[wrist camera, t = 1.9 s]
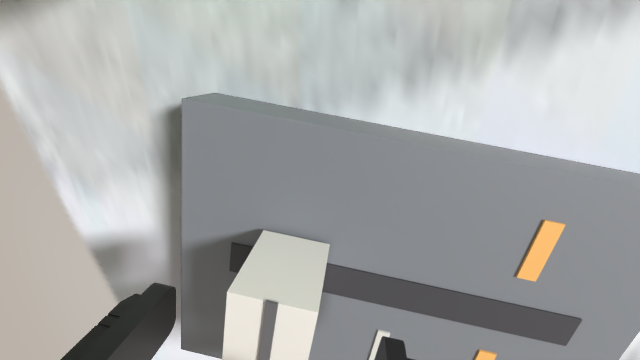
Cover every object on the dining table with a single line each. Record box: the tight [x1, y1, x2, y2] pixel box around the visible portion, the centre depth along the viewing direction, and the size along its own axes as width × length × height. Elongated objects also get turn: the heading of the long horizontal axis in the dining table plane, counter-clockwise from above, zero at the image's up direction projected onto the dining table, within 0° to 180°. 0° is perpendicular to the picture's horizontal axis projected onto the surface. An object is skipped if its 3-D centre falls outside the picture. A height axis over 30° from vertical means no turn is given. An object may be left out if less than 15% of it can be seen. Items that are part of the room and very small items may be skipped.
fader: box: [222, 230, 330, 360], centre depth 12 cm, size 4×3×4 cm
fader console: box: [181, 93, 640, 360], centre depth 15 cm, size 14×21×3 cm, turn 80°
